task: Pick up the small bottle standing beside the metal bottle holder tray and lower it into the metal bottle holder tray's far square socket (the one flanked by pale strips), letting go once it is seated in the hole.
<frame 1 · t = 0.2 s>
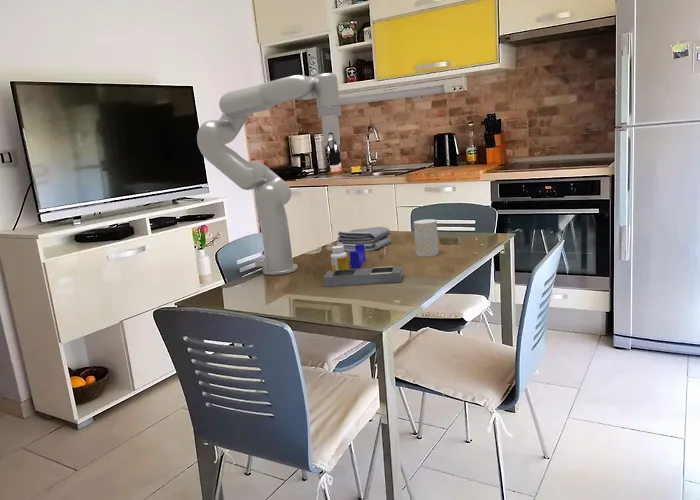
hand: (335, 164, 194), 36 cm above the table, tool pointing down, fingers open, 9 cm apart
towel: (364, 248, 233), on the table
metal bottle holder tray: (364, 280, 182), on the table
supplement bottle: (341, 275, 192), on the table
cup: (427, 254, 209), on the table
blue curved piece: (356, 265, 205), on the table
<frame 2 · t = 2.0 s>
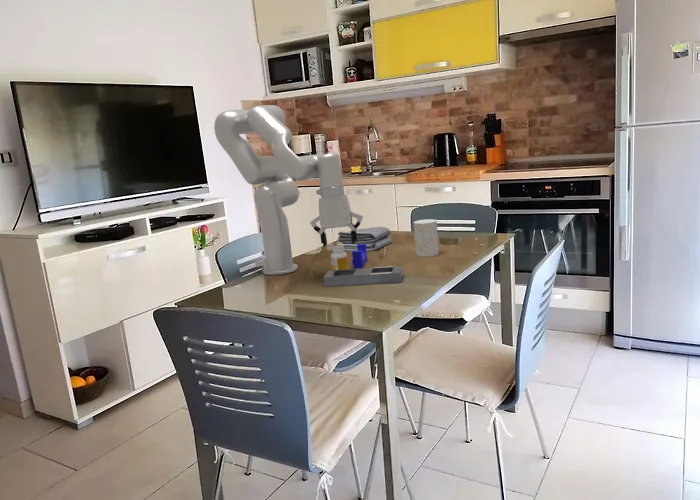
hand: (339, 244, 189), 11 cm above the table, tool pointing down, fingers open, 9 cm apart
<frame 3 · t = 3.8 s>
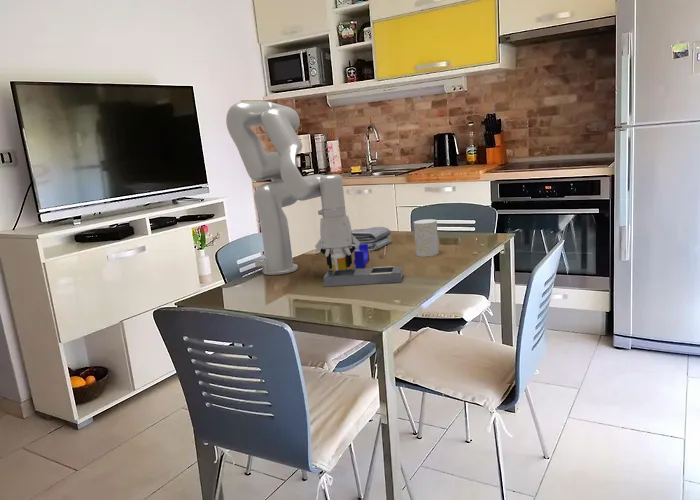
hand: (340, 266, 191), 3 cm above the table, tool pointing down, fingers closed on supplement bottle, 5 cm apart
supplement bottle: (341, 275, 192), on the table, touching gripper
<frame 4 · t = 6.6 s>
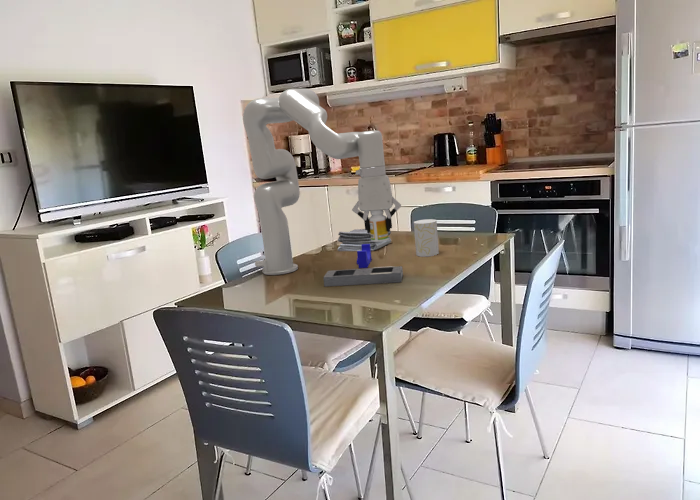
hand: (378, 231, 177), 16 cm above the table, tool pointing down, fingers closed on supplement bottle, 5 cm apart
supplement bottle: (379, 241, 178), point 12 cm above the table, touching gripper
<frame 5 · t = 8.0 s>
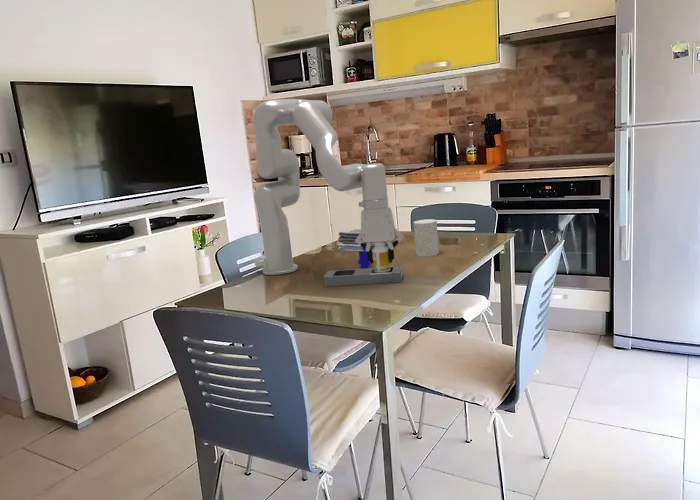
hand: (381, 261, 179), 6 cm above the table, tool pointing down, fingers closed on supplement bottle, 5 cm apart
supplement bottle: (382, 271, 180), point 3 cm above the table, touching gripper
when the fingers open (4 cm above the table, at t = 9.4 s): supplement bottle drops 1 cm, resting in metal bottle holder tray.
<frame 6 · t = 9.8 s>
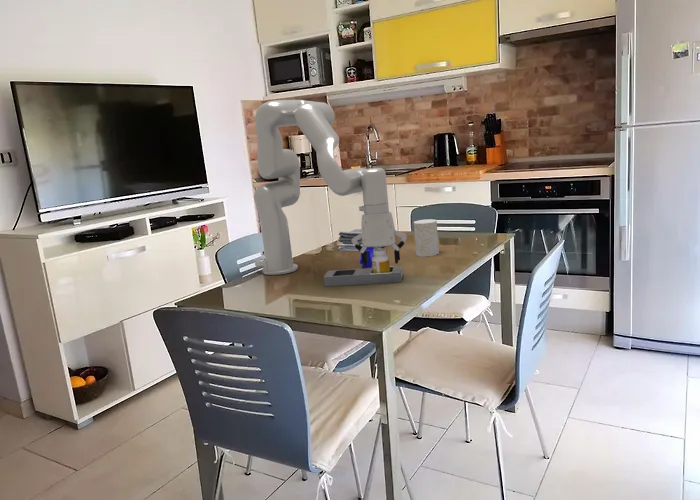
hand: (381, 263, 180), 5 cm above the table, tool pointing down, fingers open, 9 cm apart
supplement bottle: (382, 280, 181), resting in metal bottle holder tray
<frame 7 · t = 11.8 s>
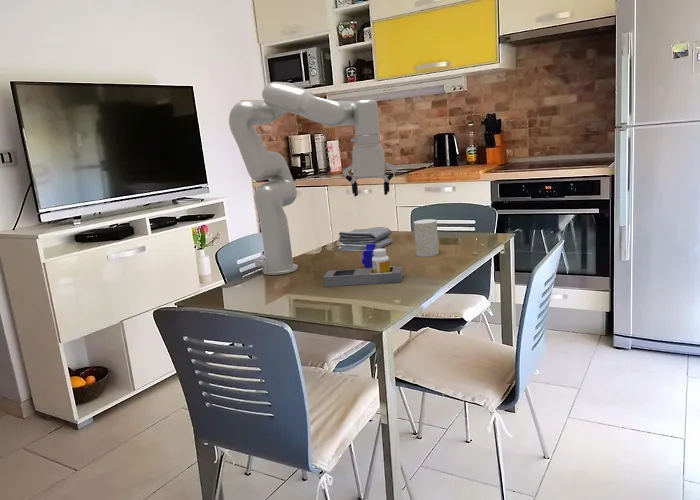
hand: (371, 195, 184), 26 cm above the table, tool pointing down, fingers open, 9 cm apart
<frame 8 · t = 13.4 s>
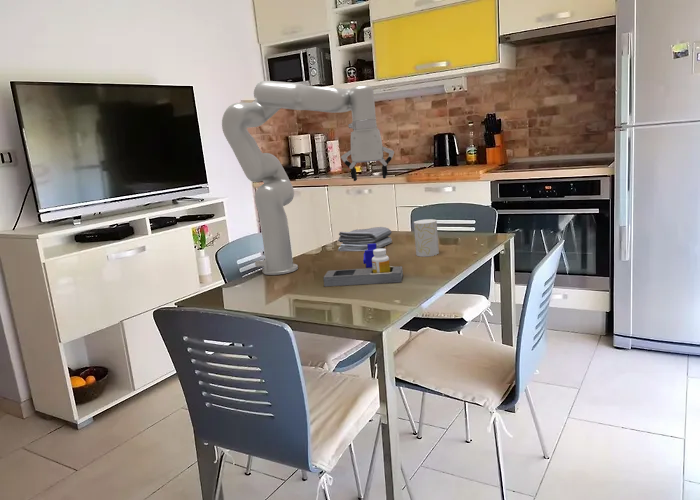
hand: (369, 179, 188), 30 cm above the table, tool pointing down, fingers open, 9 cm apart
at the end: supplement bottle 0.2 cm from the target spot, resting in metal bottle holder tray; supplement bottle tilted 0°; the gripper is holding nothing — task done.
